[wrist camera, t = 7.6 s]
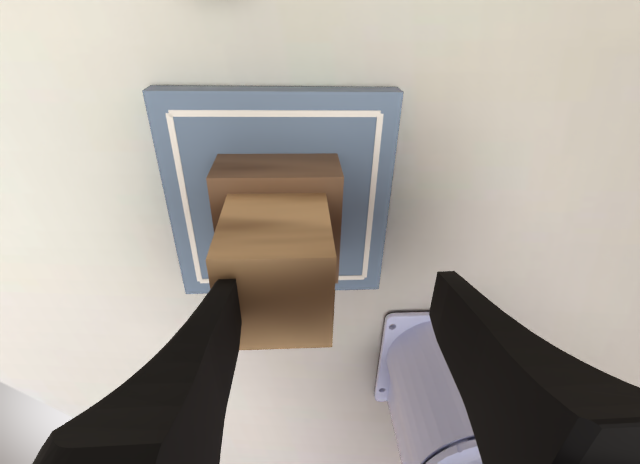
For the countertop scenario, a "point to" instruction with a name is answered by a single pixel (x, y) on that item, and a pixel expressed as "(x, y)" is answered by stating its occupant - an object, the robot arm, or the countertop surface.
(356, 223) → the board
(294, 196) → the oak block
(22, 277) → the countertop surface
